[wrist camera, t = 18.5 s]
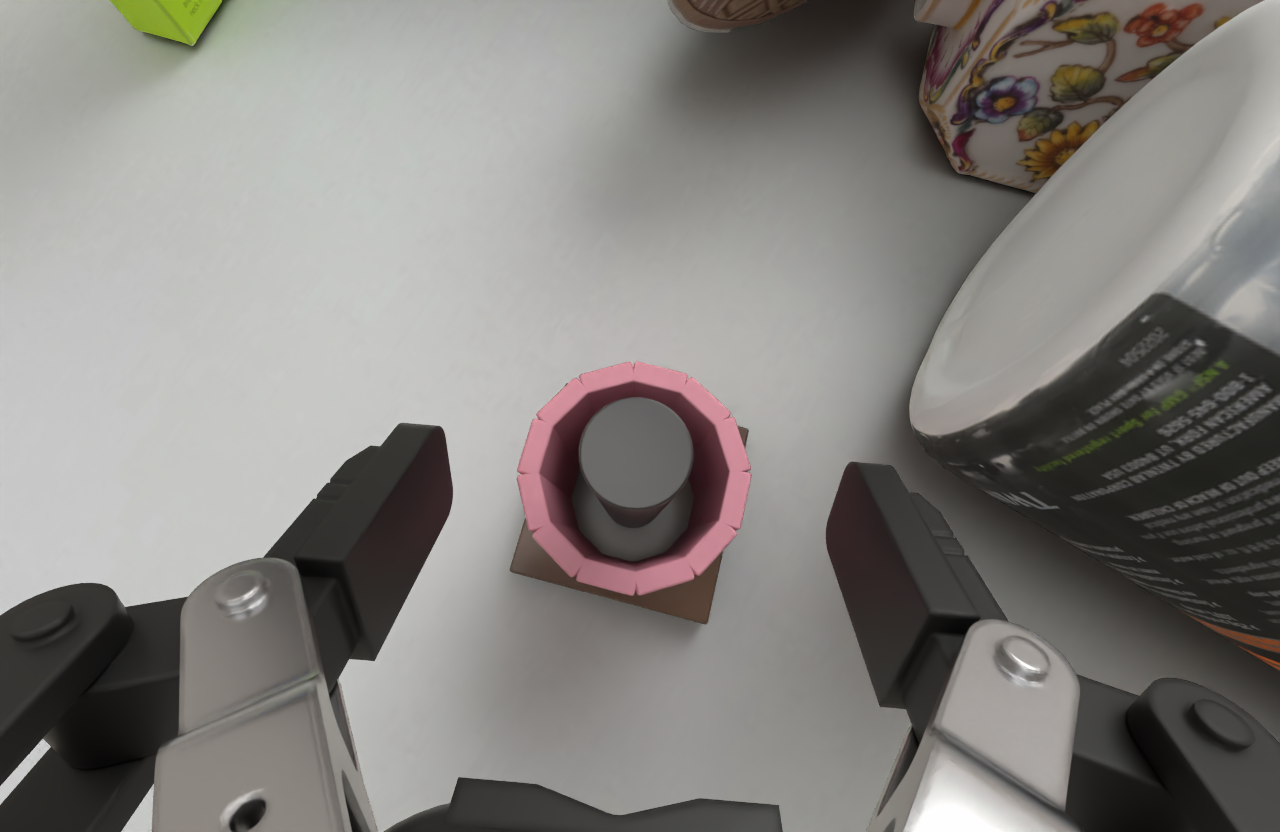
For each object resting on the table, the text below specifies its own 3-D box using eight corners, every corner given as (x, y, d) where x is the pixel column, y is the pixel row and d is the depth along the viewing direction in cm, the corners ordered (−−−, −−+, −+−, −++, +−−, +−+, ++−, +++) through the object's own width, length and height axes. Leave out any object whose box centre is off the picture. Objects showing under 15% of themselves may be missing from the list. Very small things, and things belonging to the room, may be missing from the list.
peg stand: (569, 390, 24) (509, 240, 12) (743, 434, 24) (856, 324, 12) (514, 570, 22) (384, 598, 10) (703, 620, 22) (789, 709, 10)
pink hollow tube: (581, 410, 23) (556, 340, 15) (720, 446, 22) (768, 393, 15) (540, 553, 21) (488, 558, 14) (688, 592, 21) (721, 620, 13)
